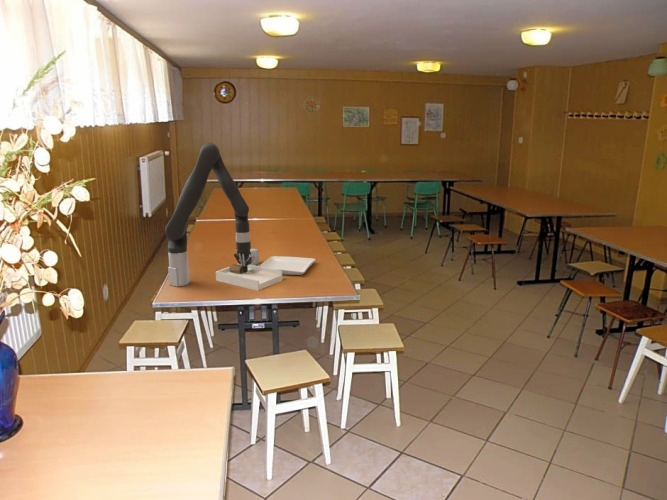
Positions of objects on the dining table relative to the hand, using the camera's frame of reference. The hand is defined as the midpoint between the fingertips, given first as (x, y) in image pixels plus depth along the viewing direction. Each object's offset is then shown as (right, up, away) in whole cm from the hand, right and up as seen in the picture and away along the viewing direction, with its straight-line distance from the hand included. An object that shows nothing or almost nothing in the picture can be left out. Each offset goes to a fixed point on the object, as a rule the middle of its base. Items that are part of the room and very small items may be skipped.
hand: (244, 272), depth 272 cm
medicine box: (-1, +3, +27) cm, 27 cm away
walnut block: (-4, 0, +4) cm, 6 cm away
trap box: (+3, -4, -1) cm, 5 cm away
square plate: (+20, +1, +19) cm, 28 cm away
